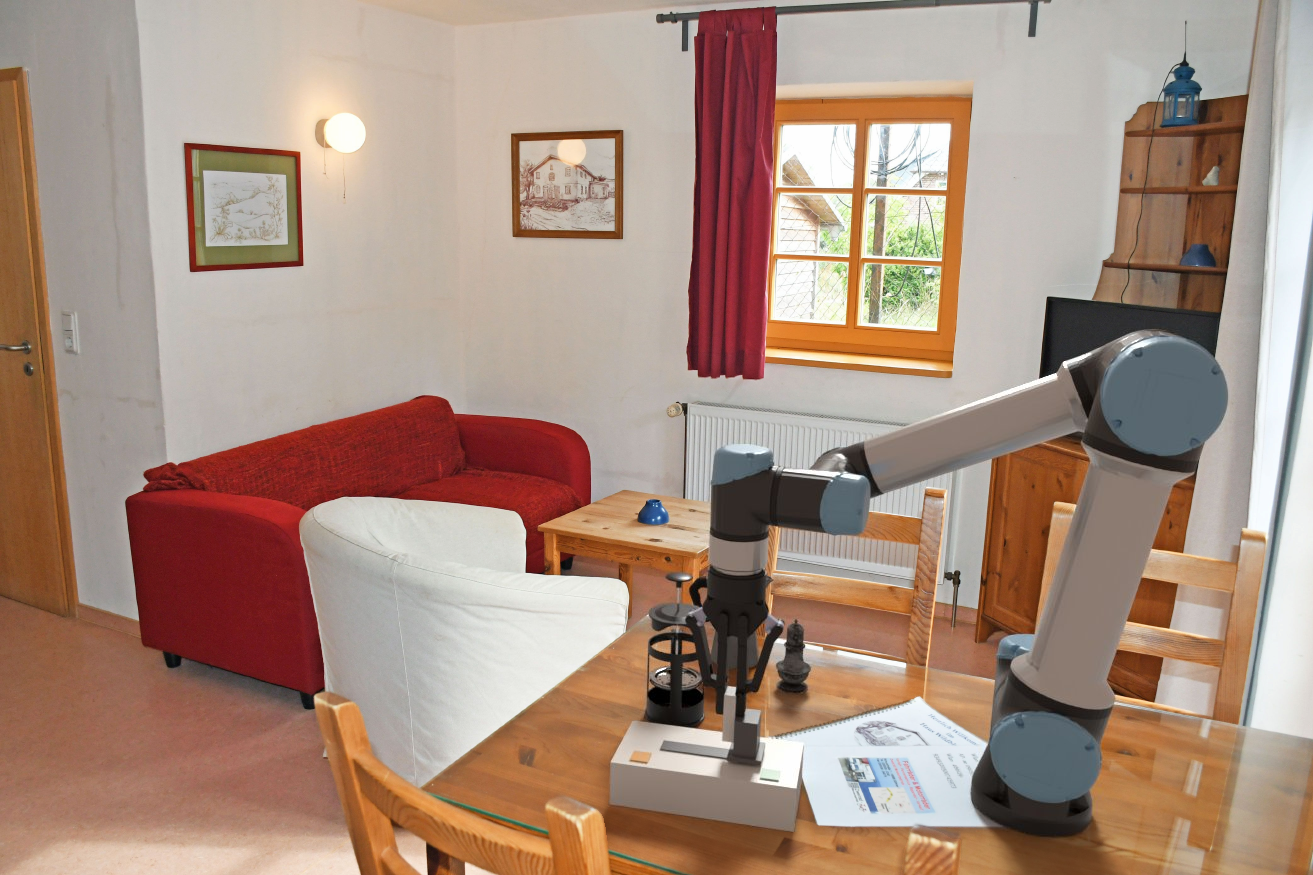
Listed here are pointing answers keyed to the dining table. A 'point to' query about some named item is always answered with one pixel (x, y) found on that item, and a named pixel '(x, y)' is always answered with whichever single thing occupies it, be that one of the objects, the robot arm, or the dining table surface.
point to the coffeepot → (733, 650)
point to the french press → (674, 667)
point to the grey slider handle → (747, 739)
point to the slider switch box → (706, 776)
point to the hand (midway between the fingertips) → (729, 736)
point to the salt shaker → (793, 662)
